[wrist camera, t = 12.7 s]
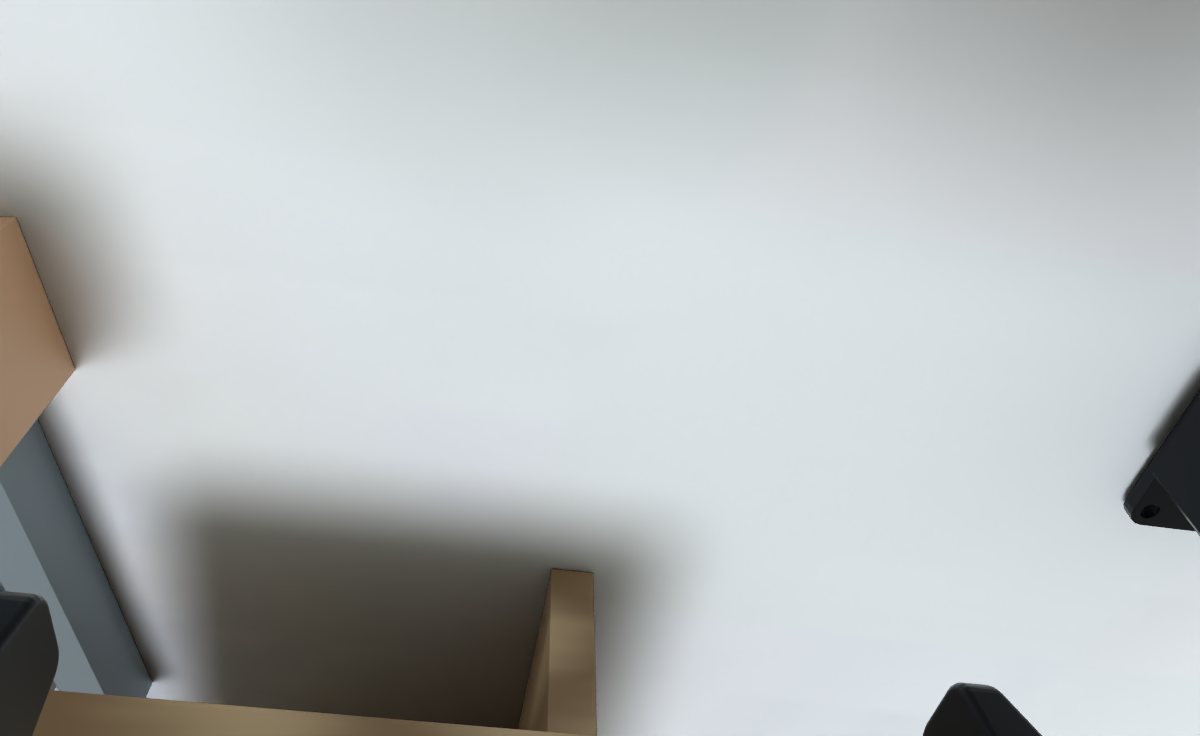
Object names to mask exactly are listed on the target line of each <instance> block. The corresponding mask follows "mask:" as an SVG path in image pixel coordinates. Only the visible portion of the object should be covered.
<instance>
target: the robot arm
mask: <svg viewBox="0 0 1200 736" xmlns="http://www.w3.org/2000/svg"><path fill="white" fill-rule="evenodd" d="M1124 509H1125V511H1126V512H1127V514H1128V515H1129V517H1130V518H1131V519H1132V520H1133V521H1134V522H1135V523H1137V524H1140V525H1148V526H1156V527H1164V528H1173V529H1181V530H1189V531H1196V532H1197V533H1198V535H1199V536H1200V390H1199V392H1198V393H1197V394H1196V396H1195V397H1194V399H1193V400H1192V402H1191V403H1190V405H1189V406H1188V408H1187V409H1186V411H1185V412H1184V414H1183V415H1182V417H1181V418H1180V420H1179V421H1178V423H1177V424H1176V426H1175V427H1174V428H1173V430H1172V431H1171V433H1170V434H1169V436H1168V437H1167V439H1166V440H1165V442H1164V443H1163V445H1162V446H1161V448H1160V449H1159V451H1158V452H1157V454H1156V455H1155V457H1154V458H1153V459H1152V461H1151V462H1150V464H1149V465H1148V467H1147V468H1146V470H1145V471H1144V473H1143V474H1142V476H1141V477H1140V479H1139V480H1138V482H1137V483H1136V485H1135V486H1134V488H1133V489H1132V490H1131V492H1130V493H1129V495H1128V496H1127V498H1126V500H1125V502H1124ZM58 661H59V648H58V643H57V639H56V635H55V631H54V627H53V623H52V618H51V614H50V610H49V606H48V603H47V601H46V600H45V599H44V598H43V597H42V596H41V595H38V594H32V593H21V592H11V591H0V736H33V733H34V730H35V728H36V725H37V722H38V720H39V717H40V714H41V712H42V709H43V706H44V704H45V701H46V699H47V696H48V693H49V691H50V688H51V685H52V683H53V680H54V677H55V674H56V671H57V667H58ZM923 736H1042V735H1041V734H1040V733H1039V732H1038V731H1037V730H1036V729H1035V728H1034V727H1033V726H1032V725H1031V724H1030V723H1029V721H1028V720H1027V719H1026V718H1025V717H1024V716H1023V715H1022V714H1021V713H1020V712H1019V711H1018V710H1017V709H1016V708H1015V707H1014V706H1013V705H1012V704H1011V702H1010V701H1009V700H1008V699H1007V698H1006V697H1005V696H1004V695H1003V694H1002V693H1001V692H1000V691H998V690H997V689H995V688H994V687H992V686H988V685H981V684H971V683H956V684H954V685H953V686H951V687H950V688H949V690H948V691H947V693H946V694H945V696H944V698H943V699H942V701H941V702H940V704H939V705H938V707H937V709H936V710H935V712H934V713H933V715H932V717H931V718H930V720H929V721H928V723H927V725H926V727H925V730H924V733H923Z"/></svg>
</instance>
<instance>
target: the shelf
mask: <svg viewBox="0 0 1200 736" xmlns="http://www.w3.org/2000/svg"><path fill="white" fill-rule="evenodd" d="M33 736H597V723H596V678H595V633H594V588H593V573H586V572H577V571H567V570H558V569H552V570H551V575H550V580H549V584H548V589H547V594H546V599H545V603H544V608H543V613H542V618H541V622H540V627H539V632H538V637H537V641H536V646H535V651H534V655H533V660H532V665H531V670H530V674H529V679H528V684H527V689H526V693H525V698H524V703H523V707H522V712H521V717H520V722H519V726H518V729H507V728H495V727H483V726H471V725H459V724H447V723H436V722H424V721H412V720H400V719H388V718H376V717H364V716H352V715H340V714H329V713H317V712H305V711H293V710H281V709H269V708H257V707H245V706H233V705H222V704H210V703H198V702H186V701H174V700H162V699H150V698H138V697H126V696H115V695H103V694H91V693H79V692H67V691H55V690H50V691H49V693H48V696H47V699H46V701H45V704H44V706H43V709H42V712H41V714H40V717H39V720H38V722H37V725H36V728H35V730H34V733H33Z"/></svg>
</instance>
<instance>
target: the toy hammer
mask: <svg viewBox="0 0 1200 736" xmlns="http://www.w3.org/2000/svg"><path fill="white" fill-rule="evenodd" d="M74 371H75V368H74V365H73V362H72V360H71V357H70V355H69V352H68V350H67V347H66V344H65V342H64V339H63V337H62V334H61V332H60V329H59V327H58V324H57V321H56V319H55V316H54V314H53V311H52V309H51V306H50V303H49V301H48V298H47V296H46V293H45V291H44V288H43V285H42V283H41V280H40V278H39V275H38V273H37V270H36V268H35V265H34V262H33V260H32V257H31V255H30V252H29V250H28V247H27V244H26V242H25V239H24V237H23V234H22V232H21V229H20V227H19V224H18V221H17V219H16V217H0V581H1V583H2V585H3V587H4V588H5V590H6V591H11V592H21V593H32V594H38V595H41V596H42V597H43V598H44V599H45V600H46V601H47V603H48V606H49V610H50V614H51V618H52V623H53V627H54V631H55V635H56V639H57V643H58V648H59V661H58V667H57V671H56V674H55V677H54V680H53V681H54V682H55V684H56V686H57V688H58V690H59V691H67V692H79V693H91V694H103V695H115V696H126V697H138V698H146V696H147V694H148V691H149V689H150V687H151V685H152V681H151V679H150V677H149V674H148V672H147V670H146V668H145V665H144V663H143V661H142V658H141V656H140V654H139V651H138V649H137V647H136V645H135V642H134V640H133V638H132V635H131V633H130V631H129V629H128V626H127V624H126V622H125V619H124V617H123V615H122V612H121V610H120V608H119V606H118V603H117V601H116V599H115V596H114V594H113V592H112V589H111V587H110V585H109V583H108V580H107V578H106V576H105V573H104V571H103V569H102V566H101V564H100V562H99V560H98V557H97V555H96V553H95V550H94V548H93V546H92V543H91V541H90V539H89V537H88V534H87V532H86V530H85V527H84V525H83V523H82V520H81V518H80V516H79V514H78V511H77V509H76V507H75V504H74V502H73V500H72V497H71V495H70V493H69V491H68V488H67V486H66V484H65V481H64V479H63V477H62V474H61V472H60V470H59V468H58V465H57V463H56V461H55V458H54V456H53V454H52V451H51V449H50V447H49V445H48V442H47V440H46V438H45V435H44V433H43V431H42V428H41V426H40V424H39V422H38V417H39V416H40V415H41V413H42V412H43V411H44V409H45V408H46V407H47V406H48V404H49V403H50V402H51V400H52V399H53V398H54V397H55V395H56V394H57V393H58V391H59V390H60V389H61V387H62V386H63V385H64V384H65V382H66V381H67V380H68V378H69V377H70V376H71V374H72V373H73V372H74Z"/></svg>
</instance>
